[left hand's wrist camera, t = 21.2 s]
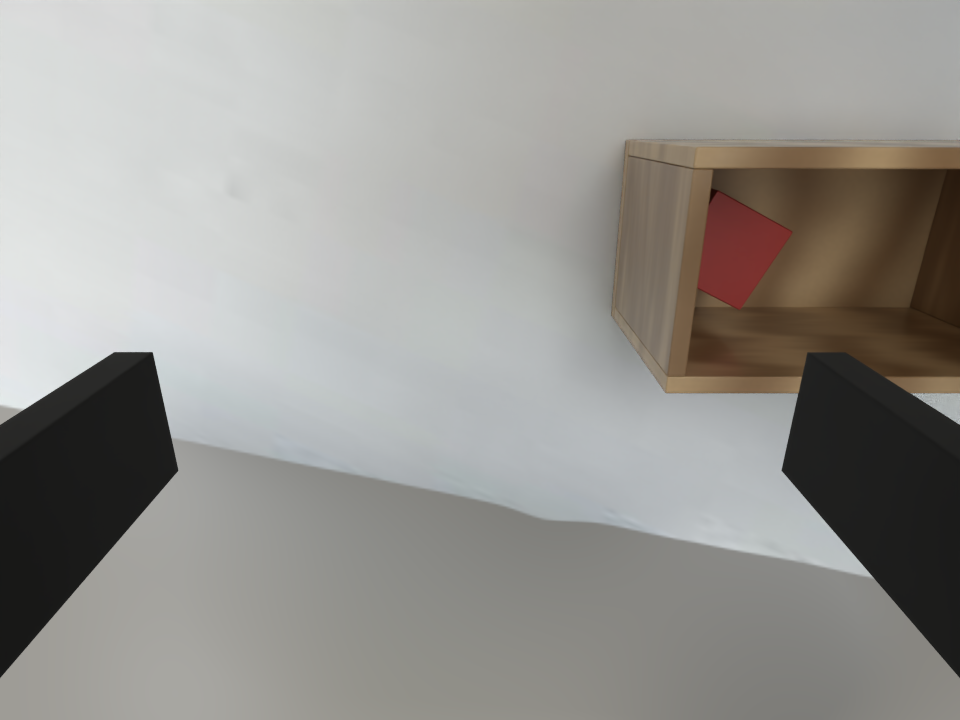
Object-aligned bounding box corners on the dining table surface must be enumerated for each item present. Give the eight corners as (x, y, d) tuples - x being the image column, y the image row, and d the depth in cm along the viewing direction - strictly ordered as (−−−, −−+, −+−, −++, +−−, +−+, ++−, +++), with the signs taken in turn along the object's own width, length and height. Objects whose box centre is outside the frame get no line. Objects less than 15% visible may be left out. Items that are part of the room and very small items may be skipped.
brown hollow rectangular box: (610, 315, 35) (665, 393, 25) (625, 139, 31) (696, 146, 21) (909, 316, 35) (1085, 393, 25) (958, 139, 31) (1185, 147, 21)
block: (643, 254, 33) (666, 272, 29) (687, 181, 31) (717, 189, 27) (708, 288, 34) (740, 311, 30) (754, 218, 32) (794, 232, 28)
